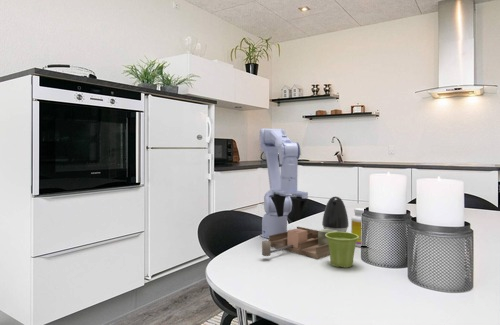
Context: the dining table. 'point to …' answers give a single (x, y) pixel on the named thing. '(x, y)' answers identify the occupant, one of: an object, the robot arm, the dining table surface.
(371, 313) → the dining table surface
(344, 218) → the black rounded cone
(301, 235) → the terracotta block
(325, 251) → the lane shelf
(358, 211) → the supplement bottle
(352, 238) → the plant pot
